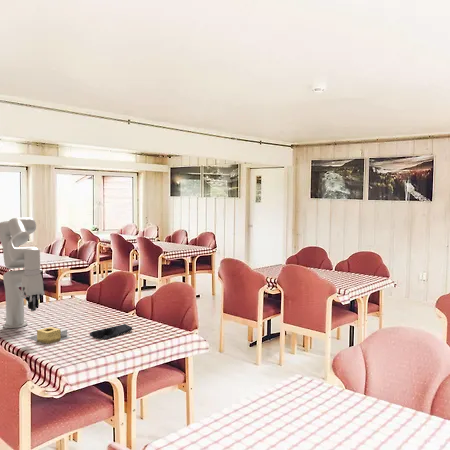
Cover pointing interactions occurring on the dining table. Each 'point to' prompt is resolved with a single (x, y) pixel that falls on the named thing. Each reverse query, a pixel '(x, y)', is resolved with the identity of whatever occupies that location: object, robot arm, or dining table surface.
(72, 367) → the dining table surface
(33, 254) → the robot arm
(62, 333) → the square hole fixture
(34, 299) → the grey metal peg
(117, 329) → the dark slate chunk
